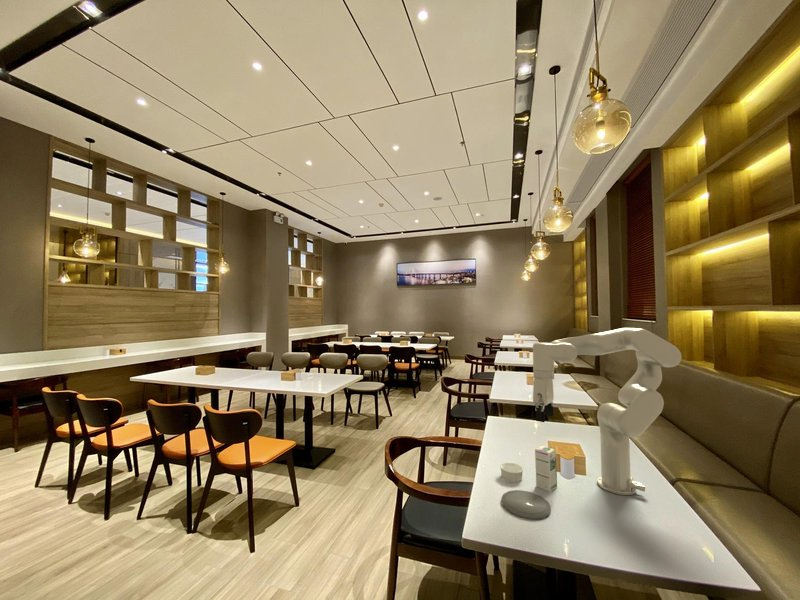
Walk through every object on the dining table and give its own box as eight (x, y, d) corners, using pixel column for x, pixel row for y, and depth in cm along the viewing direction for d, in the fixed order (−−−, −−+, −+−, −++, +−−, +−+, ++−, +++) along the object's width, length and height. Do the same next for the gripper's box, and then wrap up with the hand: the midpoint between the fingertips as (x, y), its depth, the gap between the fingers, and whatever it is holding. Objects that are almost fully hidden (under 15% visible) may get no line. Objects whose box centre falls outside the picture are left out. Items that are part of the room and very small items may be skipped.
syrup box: (550, 492, 124) (549, 453, 124) (535, 486, 128) (534, 448, 129) (557, 487, 127) (556, 449, 128) (542, 481, 132) (541, 444, 133)
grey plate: (557, 504, 116) (557, 501, 116) (541, 526, 104) (540, 522, 104) (512, 488, 126) (512, 485, 126) (493, 506, 115) (493, 502, 115)
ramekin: (525, 484, 130) (524, 473, 130) (501, 482, 132) (501, 471, 132) (521, 474, 138) (521, 463, 139) (499, 472, 140) (499, 461, 140)
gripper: (541, 370, 139) (542, 411, 138) (525, 376, 126) (526, 421, 125) (560, 372, 134) (561, 415, 133) (545, 378, 121) (547, 426, 120)
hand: (544, 418), depth 129 cm, fingers open, 9 cm apart
